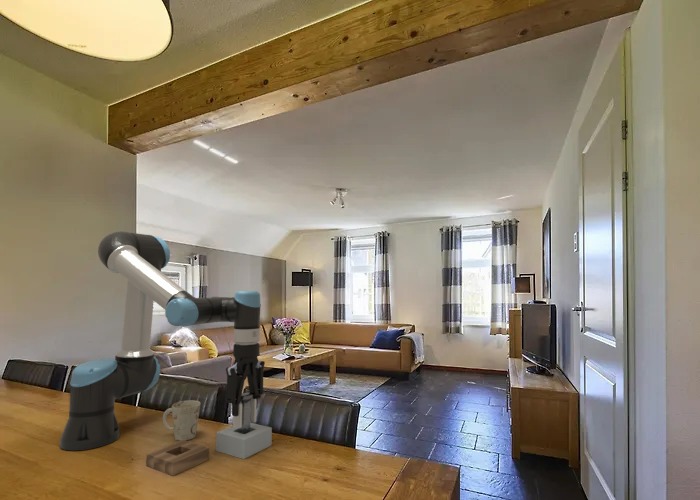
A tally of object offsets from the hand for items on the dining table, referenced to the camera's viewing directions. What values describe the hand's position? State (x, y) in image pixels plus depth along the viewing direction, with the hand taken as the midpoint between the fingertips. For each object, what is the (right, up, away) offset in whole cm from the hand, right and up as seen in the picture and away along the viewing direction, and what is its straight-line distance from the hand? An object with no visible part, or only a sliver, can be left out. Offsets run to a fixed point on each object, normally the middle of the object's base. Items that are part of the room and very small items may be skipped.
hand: (244, 423), depth 116 cm
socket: (0, -7, -1) cm, 7 cm away
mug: (-23, -8, +8) cm, 25 cm away
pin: (0, -7, -1) cm, 7 cm away
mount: (-15, -6, -10) cm, 19 cm away
